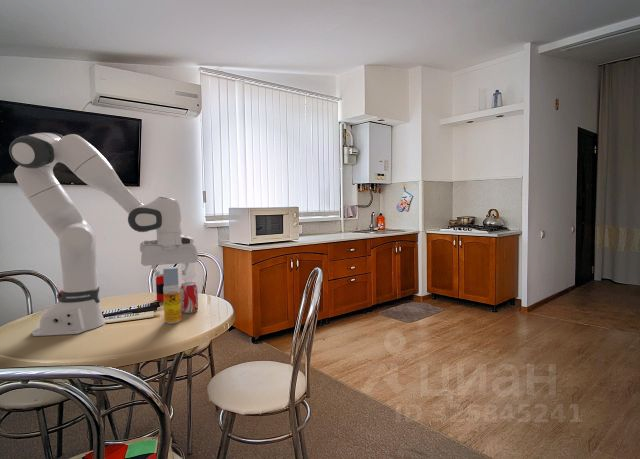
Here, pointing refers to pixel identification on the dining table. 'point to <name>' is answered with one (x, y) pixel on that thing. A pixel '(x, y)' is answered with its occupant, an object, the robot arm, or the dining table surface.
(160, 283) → the soda can
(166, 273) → the slate block
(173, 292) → the beer can
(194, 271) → the champagne flute
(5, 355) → the dining table surface
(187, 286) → the soda can
